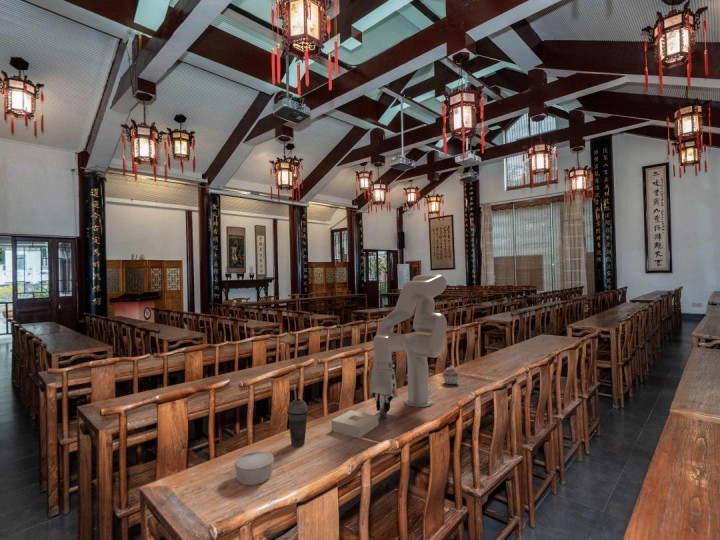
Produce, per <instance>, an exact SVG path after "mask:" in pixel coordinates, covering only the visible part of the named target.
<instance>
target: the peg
mask: <svg viewBox="0 0 720 540" xmlns="http://www.w3.org/2000/svg"><path fill="white" fill-rule="evenodd" d="M385 402H386V400H385V395H384V394H379V406H380V410H379V412H380V419H387V414H388V412H384V403H385Z"/></svg>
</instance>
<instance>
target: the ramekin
mask: <svg viewBox="0 0 720 540" xmlns="http://www.w3.org/2000/svg"><path fill="white" fill-rule="evenodd" d="M274 461H275V457H274V455H273V454H272V453H271V452H268V451H261V450H260V451H259V450H258V451H251V452H247V453H244V454H241V455H240V456H238V457H237V458H236V459H235V461H234V467H235V473H236V478H237V481H238V482H239V483H241V484H242V485H245V486H256V484H257V485H260V484H259V483H261V484H262V482H263V483H265V482H266V481H268V480H269V478H270V477H271V476H272V472H273V466H274ZM267 479H268V480H267ZM264 481H265V482H264Z"/></svg>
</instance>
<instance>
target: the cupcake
mask: <svg viewBox="0 0 720 540" xmlns="http://www.w3.org/2000/svg"><path fill="white" fill-rule="evenodd" d="M441 375H442V377H443V379H444V383H445V384H446V383H447V384H446V385H448V384H451V385H450V386H453V385H452V384H456V385H458V382H459V378H460V376H461V375H460V374H459V372H458V370H457V369H456V368H455V367H454V366H453V365H449V367H446V368H445V369H444V371H443V373H442V374H441Z"/></svg>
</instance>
